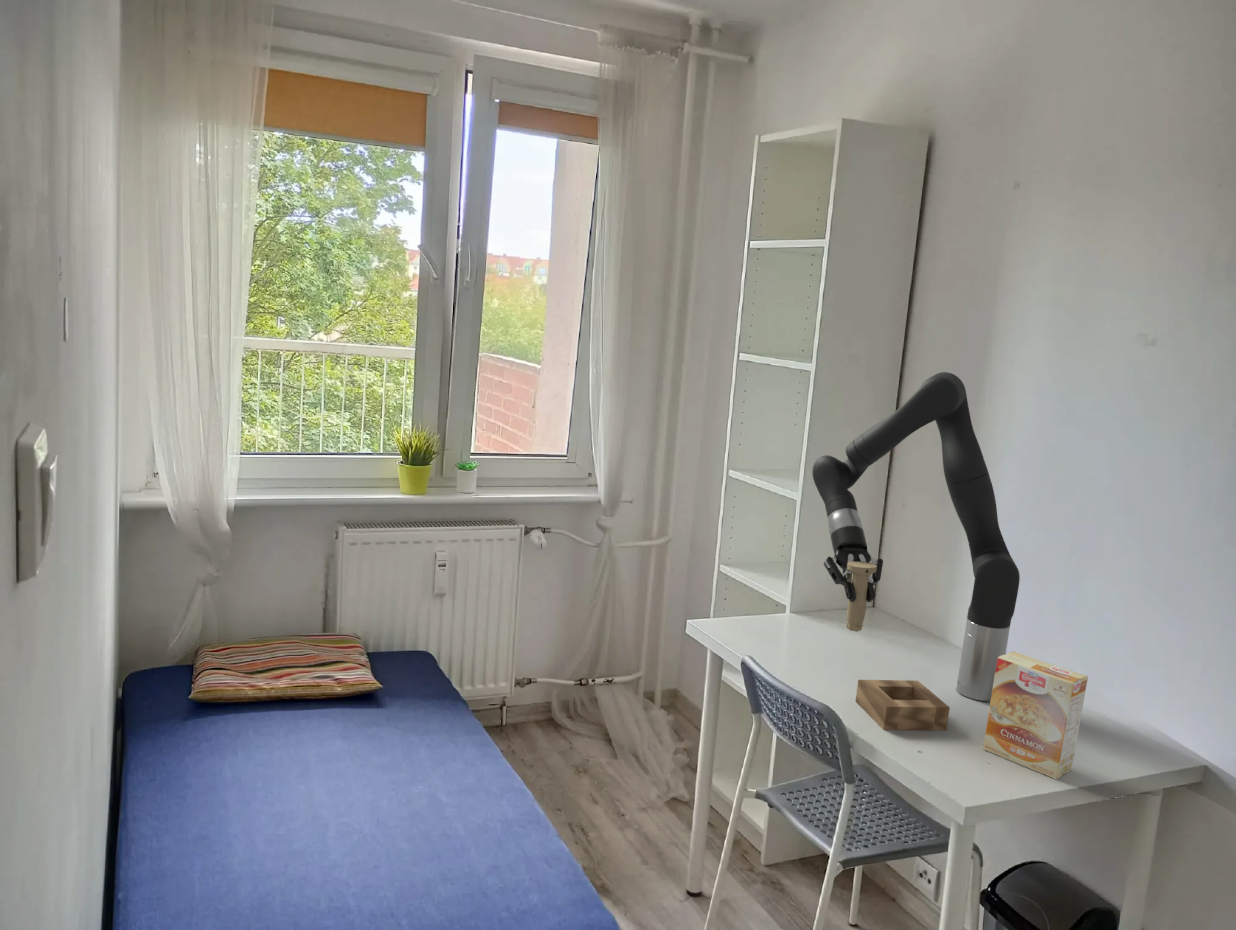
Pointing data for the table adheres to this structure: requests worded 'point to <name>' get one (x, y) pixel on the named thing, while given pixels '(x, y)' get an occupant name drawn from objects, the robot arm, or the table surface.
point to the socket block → (902, 705)
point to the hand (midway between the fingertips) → (861, 600)
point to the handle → (859, 593)
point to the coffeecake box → (1035, 714)
